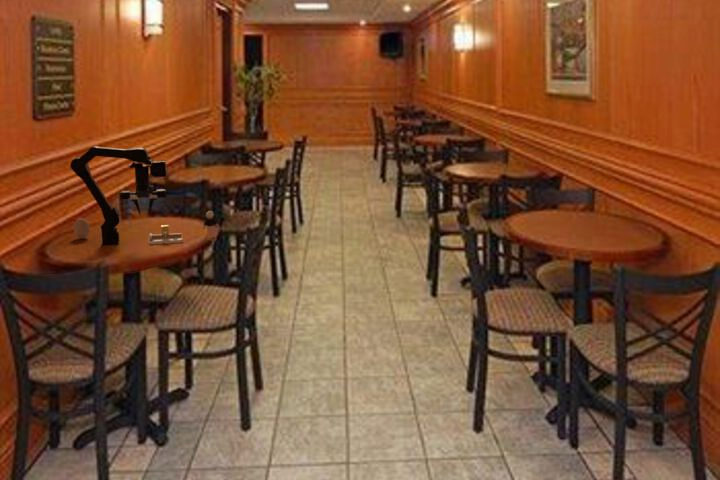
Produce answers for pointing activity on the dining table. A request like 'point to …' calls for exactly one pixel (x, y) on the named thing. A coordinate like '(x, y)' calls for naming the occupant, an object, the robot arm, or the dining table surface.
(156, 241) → the gauge board
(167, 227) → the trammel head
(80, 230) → the egg
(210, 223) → the grandmother figurine
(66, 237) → the dining table surface
